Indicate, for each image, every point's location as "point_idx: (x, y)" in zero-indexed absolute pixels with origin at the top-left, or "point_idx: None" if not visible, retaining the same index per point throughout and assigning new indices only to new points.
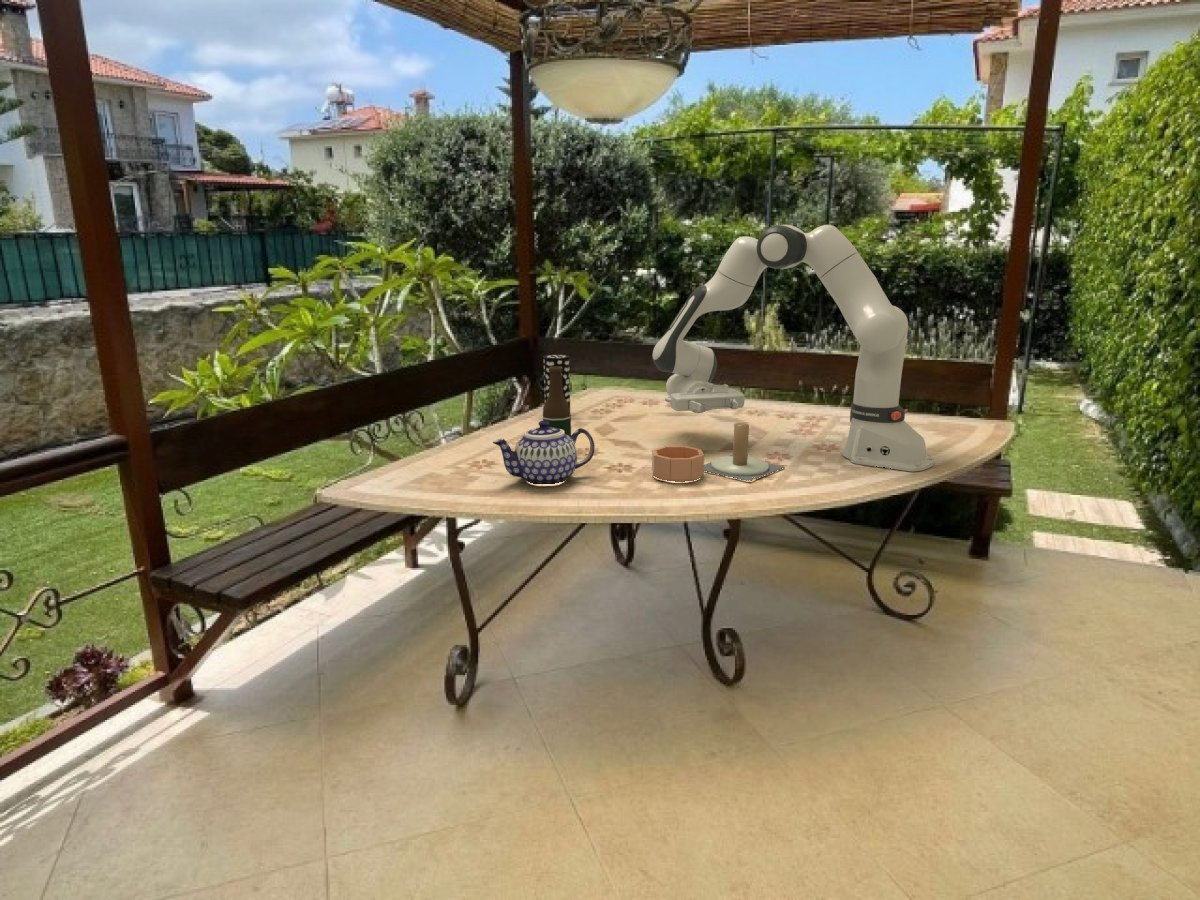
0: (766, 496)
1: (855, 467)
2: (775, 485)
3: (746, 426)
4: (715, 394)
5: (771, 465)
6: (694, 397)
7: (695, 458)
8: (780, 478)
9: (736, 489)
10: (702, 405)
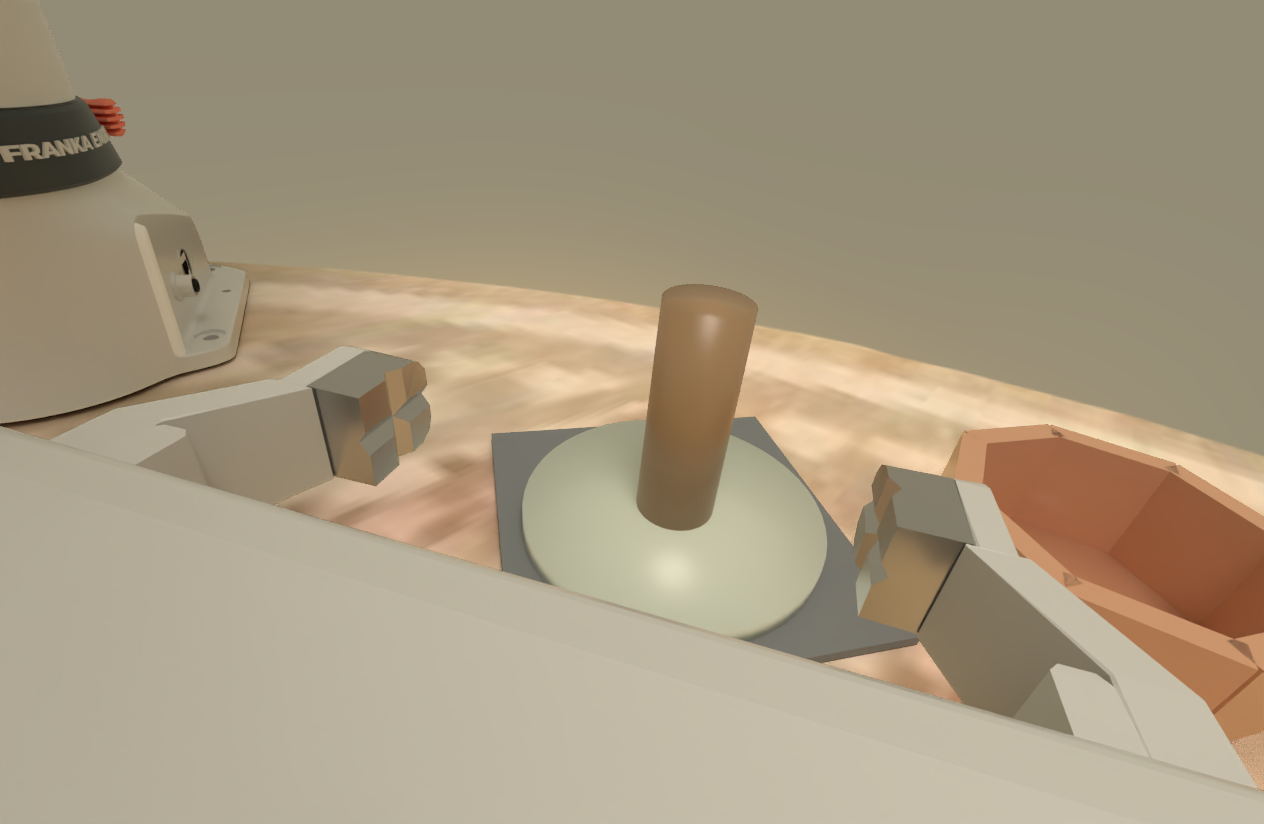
0: (775, 361)
1: (284, 347)
2: None
3: (706, 287)
4: (10, 734)
5: (516, 466)
6: (1115, 763)
7: (1021, 429)
8: (612, 402)
9: (832, 416)
10: (927, 477)
